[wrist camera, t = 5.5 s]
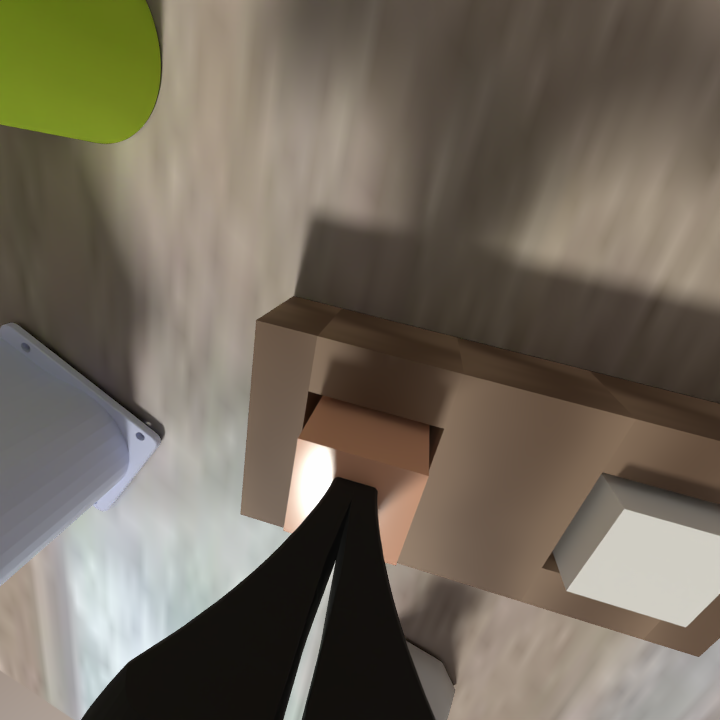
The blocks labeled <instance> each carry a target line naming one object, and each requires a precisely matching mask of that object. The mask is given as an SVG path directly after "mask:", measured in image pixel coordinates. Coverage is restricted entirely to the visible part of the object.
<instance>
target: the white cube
mask: <svg viewBox="0 0 720 720" xmlns="http://www.w3.org/2000/svg"><path fill="white" fill-rule="evenodd" d="M552 552H553V555H554V557H555V560H556V563H557V566H558V569H559V572H560V575H561V577H562V580H563V583H564V586H565V589H566V591H568V592H571V593H575V594H578V595H581V596H585V597H588V598H591V599H594V600H598V601H601V602H604V603H607V604H611V605H614V606H617V607H621V608H624V609H627V610H630V611H634V612H637V613H640V614H643V615H647V616H650V617H653V618H657V619H660V620H663V621H666V622H670V623H673V624H676V625H679V626H683V627H687V626H688V625H689V624H690V623H691V622H692V621H693V620H694V619H695V618H696V617H697V616H698V615H699V614H700V613H701V612H702V611H703V610H704V609H705V608H706V607H707V606H708V605H709V604H710V603H711V602H712V601H713V600H714V599H715V598H716V597H717V596H718V595H719V594H720V505H719V504H716V503H712V502H708V501H705V500H701V499H698V498H694V497H690V496H687V495H683V494H679V493H676V492H672V491H668V490H665V489H661V488H658V487H654V486H650V485H647V484H643V483H639V482H636V481H632V480H629V479H625V478H621V477H618V476H614V475H610V474H607V473H603V472H602V474H601V475H600V477H599V479H598V480H597V482H596V483H595V485H594V486H593V488H592V490H591V491H590V493H589V494H588V496H587V497H586V499H585V501H584V502H583V504H582V505H581V507H580V508H579V510H578V512H577V513H576V515H575V516H574V518H573V519H572V521H571V523H570V524H569V526H568V527H567V529H566V530H565V532H564V534H563V535H562V537H561V538H560V540H559V542H558V543H557V545H556V546H555V548H554V549H553V551H552Z"/></svg>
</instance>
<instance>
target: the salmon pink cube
mask: <svg viewBox="0 0 720 720" xmlns="http://www.w3.org/2000/svg"><path fill="white" fill-rule="evenodd" d="M336 477H341V478H344V479H348V480H351V481H355V482H358V483H361V484H365V485H368V486H372V487H375V488H376V489H377V491H378V496H377V506H378V520H379V530H380V537H381V543H382V549H383V555H384V560H385V562H386V563H389V564H392V565H396V564H397V561H398V558H399V556H400V553H401V550H402V548H403V545H404V542H405V539H406V537H407V534H408V531H409V529H410V526H411V523H412V521H413V518H414V515H415V512H416V510H417V507H418V504H419V502H420V499H421V496H422V493H423V491H424V488H425V485H426V483H427V480H428V477H429V424H425V423H421V422H418V421H414V420H411V419H407V418H403V417H400V416H396V415H392V414H389V413H385V412H381V411H378V410H374V409H371V408H367V407H363V406H360V405H356V404H352V403H349V402H345V401H342V400H338V399H334V398H331V397H327V396H322V398H321V399H320V401H319V403H318V404H317V406H316V408H315V410H314V411H313V413H312V415H311V416H310V418H309V420H308V422H307V423H306V425H305V427H304V429H303V430H302V432H301V434H300V435H299V437H298V440H297V446H296V453H295V459H294V466H293V472H292V478H291V485H290V491H289V498H288V504H287V510H286V517H285V523H284V530H283V531H287V532H290V533H293V532H294V531H295V530H296V529H297V528H298V527H299V525H300V524H301V523H302V522H303V521H304V520H305V518H306V517H307V516H308V515H309V514H310V512H311V511H312V510H313V509H314V508H315V506H316V505H317V504H318V502H319V501H320V500H321V498H322V497H323V495H324V494H325V493H326V491H327V490H328V488H329V486H330V485H331V483H332V481H333V479H334V478H336Z"/></svg>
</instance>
